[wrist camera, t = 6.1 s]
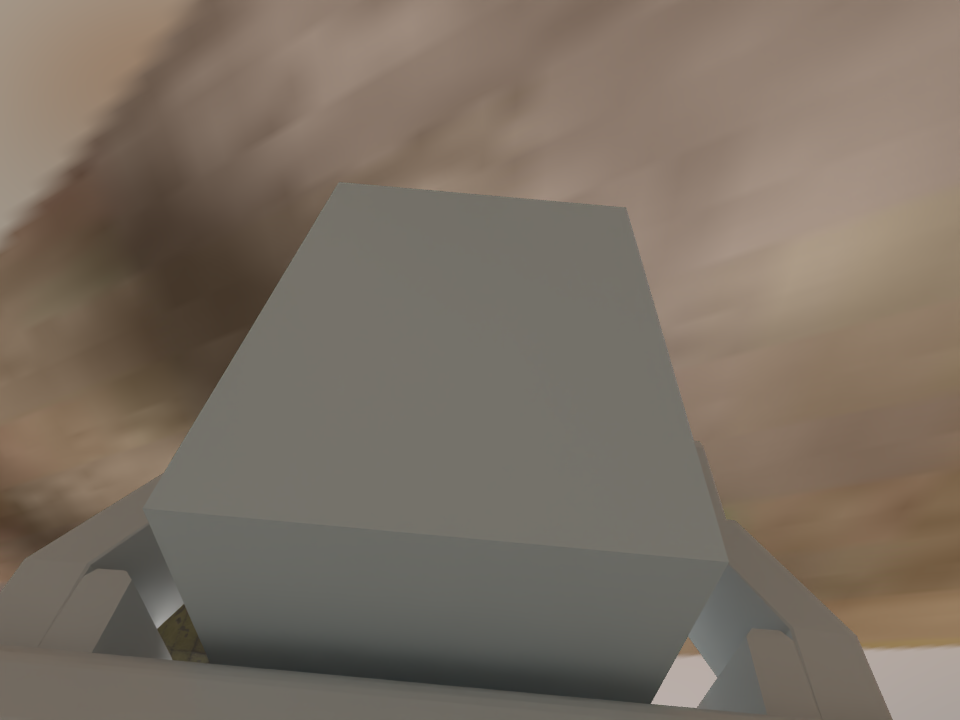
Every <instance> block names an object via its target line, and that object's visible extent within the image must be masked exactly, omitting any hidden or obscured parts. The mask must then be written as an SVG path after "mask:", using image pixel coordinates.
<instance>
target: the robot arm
mask: <svg viewBox="0 0 960 720" xmlns="http://www.w3.org/2000/svg"><path fill="white" fill-rule="evenodd" d="M694 443H695V447H696V450H697V454H698V457H699V460H700V464H701V467H702V471H703V474H704V478H705V481H706V484H707V488H708V491H709V495H710V498H711V502H712V505H713V509H714V512H715V515H716V519H717V522H718V526H719V529H720V533H721V536H722V540H723V543H724V546H725V550H726V553H727V557H728V560H729V563H728V565H727V567H726V569H725V570H724V572H723V574H722V576H721V578H720V579H719V581H718V583H717V585H716V587H715V588H714V590H713V592H712V594H711V596H710V597H709V599H708V601H707V603H706V605H705V606H704V608H703V610H702V612H701V614H700V615H699V617H698V619H697V621H696V623H695V624H694V626H693V628H692V630H691V632H690V633H689V635H688V637H689V638H690V639H691V641H692V642H693V644H694V645H695V647H696V648H697V649H698V651H699V652H700V654H701V655H702V656H703V658H704V659H705V661H706V662H707V663H708V665H709V666H710V668H711V669H712V670H713V672H714V673H715V675H716V676H717V680H716V681H715V682H714V684H713V685H712V687H711V688H710V690H709V691H708V692H707V694H706V695H705V697H704V699H703V700H702V701H701V703H700V704H699V706H698V707H697V708H688V707H676V706H666V705H655V704H644V703H634V702H623V701H612V700H601V699H590V698H580V697H569V696H558V695H547V694H536V693H526V692H515V691H504V690H493V689H483V688H472V687H461V686H450V685H439V684H428V683H417V682H406V681H395V680H384V679H373V678H362V677H351V676H340V675H329V674H319V673H308V672H297V671H286V670H275V669H264V668H253V667H242V666H231V665H221V664H210V663H199V662H188V661H177V660H172V657H171V655H170V653H169V651H168V649H167V647H166V645H165V643H164V641H163V639H162V638H161V636H160V634H159V632H158V630H157V628H159V627H160V626H161V625H162V624H163V623H164V622H165V621H166V620H167V619H168V618H169V617H170V616H171V615H172V614H174V613H175V612H176V611H177V610H178V609H179V608H180V607H181V606H182V605H183V604H184V602H183V600H182V598H181V596H180V593H179V591H178V589H177V586H176V584H175V582H174V579H173V577H172V575H171V573H170V570H169V568H168V566H167V563H166V561H165V559H164V557H163V554H162V552H161V550H160V547H159V545H158V543H157V541H156V538H155V536H154V534H153V531H152V529H151V527H150V525H149V522H148V520H147V518H146V515H145V513H144V511H143V509H142V508H143V507H144V505H145V503H146V502H147V500H148V498H149V497H150V495H151V493H152V492H153V490H154V488H155V487H156V485H157V483H158V482H159V480H160V478H161V477H162V475H163V473H162V474H161V475H159V476H158V477H156V478H154V479H153V480H151V481H150V482H148V483H146V484H145V485H143V486H142V487H140V488H138V489H137V490H135V491H133V492H132V493H130V494H129V495H127V496H125V497H124V498H122V499H121V500H119V501H117V502H116V503H114V504H112V505H111V506H109V507H108V508H106V509H104V510H103V511H101V512H100V513H98V514H96V515H95V516H93V517H91V518H90V519H88V520H87V521H85V522H83V523H82V524H80V525H79V526H77V527H75V528H74V529H72V530H71V531H69V532H67V533H66V534H64V535H62V536H61V537H59V538H58V539H56V540H54V541H53V542H51V543H50V544H48V545H46V546H45V547H43V548H41V549H40V550H38V551H37V552H35V553H33V554H32V555H30V556H29V557H27V558H25V559H24V561H23V562H22V563H21V565H20V566H19V568H18V569H17V570H16V572H15V573H14V574H13V576H12V577H11V579H10V580H9V581H8V583H7V584H6V585H5V587H4V588H3V589H2V591H1V592H0V720H892V717H891V715H890V713H889V710H888V708H887V706H886V703H885V701H884V698H883V696H882V694H881V691H880V689H879V687H878V684H877V683H876V680H875V678H874V675H873V673H872V670H871V668H870V666H869V664H868V662H867V659H866V656H865V654H864V652H863V649H862V647H861V645H860V642H859V640H858V638H857V636H856V635H855V634H854V633H853V632H852V631H851V630H850V629H849V628H848V627H847V626H846V625H845V624H844V623H843V622H842V621H840V620H839V619H838V618H837V617H836V616H835V615H834V614H833V613H832V612H831V611H830V610H829V609H828V608H827V607H826V606H825V605H824V604H823V603H822V602H821V601H819V600H818V599H817V598H816V597H815V596H814V595H813V594H812V593H811V592H810V591H809V590H808V589H807V588H806V587H805V586H804V585H803V584H802V583H801V582H800V581H798V580H797V579H796V578H795V577H794V576H793V575H792V574H791V573H790V572H789V571H788V570H787V569H786V568H785V567H784V566H783V565H782V564H781V563H780V562H778V561H777V560H776V559H775V558H774V557H773V556H772V555H771V554H770V553H769V552H768V551H767V550H766V549H765V548H764V547H763V546H762V545H761V544H760V543H759V542H757V541H756V540H755V539H754V538H753V537H752V536H751V535H750V534H749V533H748V532H747V531H746V530H745V529H744V528H743V527H742V526H741V525H740V524H739V523H737V522H736V521H735V520H727V519H726V517H725V514H724V510H723V507H722V504H721V501H720V498H719V495H718V491H717V488H716V485H715V482H714V479H713V475H712V472H711V469H710V466H709V463H708V460H707V456H706V453H705V450H704V447H703V445H702V444H701V443H700V442H699V441H694Z"/></svg>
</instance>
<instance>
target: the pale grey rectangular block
mask: <svg viewBox="0 0 960 720" xmlns="http://www.w3.org/2000/svg"><path fill="white" fill-rule="evenodd" d="M142 509H143V511H144V513H145V515H146V518H147V520H148V522H149V525H150V527H151V529H152V531H153V534H154V536H155V538H156V541H157V543H158V545H159V547H160V550H161V552H162V554H163V557H164V559H165V561H166V563H167V566H168V568H169V570H170V573H171V575H172V577H173V579H174V582H175V584H176V586H177V589H178V591H179V593H180V596H181V598H182V600H183V602H184V605H185V607H186V609H187V612H188V614H189V616H190V618H191V621H192V623H193V625H194V628H195V630H196V632H197V634H198V637H199V639H200V641H201V644H202V646H203V648H204V650H205V653H206V655H207V657H208V660H209V662H210V664H221V665H231V666H242V667H253V668H264V669H275V670H286V671H297V672H308V673H319V674H329V675H340V676H351V677H362V678H373V679H384V680H395V681H406V682H417V683H428V684H439V685H450V686H461V687H472V688H483V689H493V690H504V691H515V692H526V693H536V694H547V695H558V696H569V697H580V698H590V699H601V700H612V701H623V702H634V703H644V704H651V702H652V700H653V698H654V696H655V695H656V693H657V691H658V689H659V688H660V686H661V684H662V682H663V680H664V679H665V677H666V675H667V673H668V671H669V670H670V668H671V666H672V664H673V662H674V661H675V659H676V657H677V655H678V653H679V651H680V650H681V648H682V646H683V644H684V642H685V641H686V639H687V637H688V635H689V633H690V632H691V630H692V628H693V626H694V624H695V623H696V621H697V619H698V617H699V615H700V614H701V612H702V610H703V608H704V606H705V605H706V603H707V601H708V599H709V597H710V596H711V594H712V592H713V590H714V588H715V587H716V585H717V583H718V581H719V579H720V578H721V576H722V574H723V572H724V570H725V569H726V567H727V565H728V563H729V560H728V557H727V553H726V550H725V546H724V543H723V540H722V536H721V533H720V529H719V526H718V522H717V519H716V515H715V512H714V509H713V505H712V502H711V498H710V495H709V491H708V488H707V484H706V481H705V478H704V474H703V471H702V467H701V464H700V460H699V457H698V454H697V450H696V447H695V443H694V440H693V436H692V433H691V429H690V426H689V423H688V419H687V416H686V412H685V409H684V405H683V402H682V398H681V395H680V392H679V388H678V385H677V381H676V378H675V374H674V371H673V367H672V364H671V361H670V357H669V354H668V350H667V347H666V343H665V340H664V336H663V333H662V330H661V326H660V323H659V319H658V316H657V312H656V309H655V306H654V302H653V299H652V295H651V292H650V288H649V285H648V281H647V278H646V275H645V271H644V268H643V264H642V261H641V257H640V254H639V250H638V247H637V244H636V240H635V237H634V233H633V230H632V226H631V223H630V219H629V216H628V213H627V209H626V208H625V207H613V206H602V205H591V204H579V203H568V202H557V201H546V200H534V199H523V198H512V197H500V196H489V195H478V194H467V193H455V192H444V191H433V190H422V189H410V188H399V187H388V186H376V185H365V184H354V183H343V182H339V183H338V184H337V186H336V188H335V189H334V191H333V193H332V194H331V196H330V198H329V199H328V201H327V203H326V204H325V206H324V208H323V209H322V211H321V213H320V214H319V216H318V218H317V219H316V221H315V223H314V224H313V226H312V228H311V229H310V231H309V233H308V234H307V236H306V238H305V239H304V241H303V243H302V244H301V246H300V248H299V249H298V251H297V253H296V254H295V256H294V258H293V259H292V261H291V263H290V264H289V266H288V267H287V269H286V271H285V272H284V274H283V276H282V277H281V279H280V281H279V282H278V284H277V286H276V287H275V289H274V291H273V292H272V294H271V296H270V297H269V299H268V301H267V302H266V304H265V306H264V307H263V309H262V311H261V312H260V314H259V316H258V317H257V319H256V321H255V322H254V324H253V326H252V327H251V329H250V331H249V332H248V334H247V336H246V337H245V339H244V341H243V342H242V344H241V346H240V347H239V349H238V351H237V352H236V354H235V356H234V357H233V359H232V360H231V362H230V364H229V365H228V367H227V369H226V370H225V372H224V374H223V375H222V377H221V379H220V380H219V382H218V384H217V385H216V387H215V389H214V390H213V392H212V394H211V395H210V397H209V399H208V400H207V402H206V404H205V405H204V407H203V409H202V410H201V412H200V414H199V415H198V417H197V419H196V420H195V422H194V424H193V425H192V427H191V429H190V430H189V432H188V434H187V435H186V437H185V439H184V440H183V442H182V444H181V445H180V447H179V449H178V450H177V452H176V454H175V455H174V457H173V458H172V460H171V462H170V463H169V465H168V467H167V468H166V470H165V472H164V473H163V475H162V477H161V478H160V480H159V482H158V483H157V485H156V487H155V488H154V490H153V492H152V493H151V495H150V497H149V498H148V500H147V502H146V503H145V505H144V507H143V508H142Z"/></svg>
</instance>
